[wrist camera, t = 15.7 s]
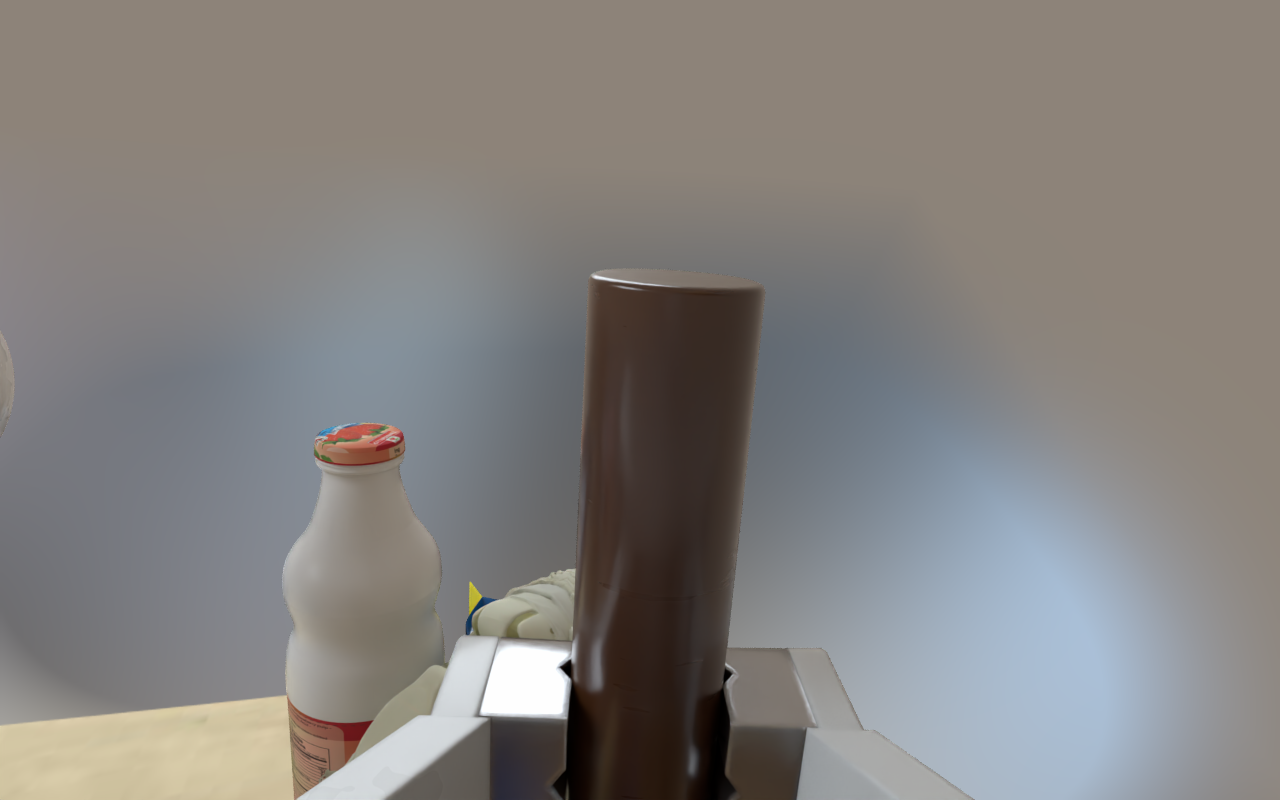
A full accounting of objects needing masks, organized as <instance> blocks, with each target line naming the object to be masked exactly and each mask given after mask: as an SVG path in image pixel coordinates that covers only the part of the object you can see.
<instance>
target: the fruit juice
mask: <svg viewBox="0 0 1280 800" xmlns="http://www.w3.org/2000/svg"><path fill="white" fill-rule="evenodd" d="M404 451H405V442H404V436H403V433H402V432H401V431H400V430H399V429H398V428H396V427H393V426H390V425H385V424H377V423H354V424H345V425H339V426H335V427H331V428H328V429H325V430H323V431H321V432H320V433H319V434H318V435H317V436H316V438H315V445H314V455H315V458H316V464H317V466H318V467H319V468H321V471H322V478H321V486H320V491H319V495H318V499H317V503H316V507H315V510H314V513H313V516H312V519H311V521H310V524H309V526H308V528H307V529H306V531H305V532H304V533H303V534H302V535H301V537H300V538H299V539H298V540H297V541H296V543H295V544H294V546H293V547H292V549H291V550H290V552H289V554H288V556H287V558H286V561H285V564H284V569H283V586H282V587H283V588H282V590H283V596H284V600H285V603H286V606H287V609H288V611H289V613H290V616H291V618H292V620H293V623H294V628H293V631H292V633H291V635H290V638H289V641H288V645H287V651H286V689H287V699H288V713H289V728H290V743H291V757H292V772H293V786H294V800H296V799H297V798H299V797H300V796H302V795H303V794H304V793H306V792H307V791H309V790H310V789H312V788H313V787H315V786H316V785H318V784H319V779H320V778H321V777H322V776H323V775H324V774H325V771H326V770H328V769H329V771H338V770H339V769H341V768H342V767H344V765H345V764H346V763H347V762H348V760H349V759H350V758H351V756H352V754H354V753H355V751H356V749H357V747H358V745H359V743H360V741H361V739H362V737H363V736H364V734H365V732H366V731H367V729H368V728H369V726H370V725H371V723H372V722H373V721H374V719H375V718H376V716H377V715H378V714H379V712H380V711H381V710H382V709H383V708H384V706H385V705H386V704H387V703H388V702H389V701H390V700H391V699H392V698H394V697H395V696H396V695H397V694H399V693H400V692H401V691H403V690H404V689H405V688H407V687H408V686H410V685H411V684H412V683H414V682H415V681H416V680H417V679H418V678H419V677H420V676H421V675H422V674H423V673H424V672H425V671H426V670H427V669H428V668H429V667H431V666H433V665H439V666H442V665H443V664H445V652H444V651H445V650H444V638H443V630H442V625H441V622H440V619H439V616H438V615H437V613H436V611H435V608H434V605H435V601H436V598H437V594H438V591H439V588H440V583H441V577H442V565H441V556H440V551H439V548H438V546H437V543H436V541H435V540H434V538H433V537H432V535H431V534H430V533H429V531H428V530H427V529H426V528H425V527H424V526H423V524H422V523H421V522H420V521H419V519H418V518H417V516H416V515H415V513H414V511H413V509H412V507H411V505H410V502H409V500H408V497H407V495H406V492H405V489H404V486H403V484H402V479H401V476H400V471H399V470H400V469H399V465H400V464H401V463H402V461H403V459H404ZM325 778H326V776H323V779H325ZM321 782H322V779H321Z"/></svg>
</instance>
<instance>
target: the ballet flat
mask: <svg viewBox="0 0 1280 800" xmlns="http://www.w3.org/2000/svg"><path fill="white" fill-rule="evenodd" d="M575 570H576V569H572V570H571V569H567V570H566V571H564V572H562V571H560V570H558V572H556V573H554V572H552V573H551V574H550V576H549V577H547V578H540V579H538V580H536V581H532V582H531V583H530V584H527V585H523V586H521V587H519V588H513V589H511V590H510V591H509V592H508V593H507V594H506V596H505V598H504V599H501V600H496V601H493V602H491V603H489V604H488V605H485V606H483V607H482V608H480V609H479V610H477V611H476V612H475V613H474V614H473V617H472V627H473V630H474V631H473V632H471V634H470V635H475V636H498V637H499V638H501V637H516V638H533V639H549V640H566V641H572V637H573V614H574V592H575ZM449 662H450V661H449ZM449 662H448V663H445V664H443V665H442V666H439V665H433V666H431V667H429V668H428V669H427V670H426V671H425V672H424V673H423V674H422V675H421V676H420V677H419V678H418V679H417V680H416V681H415V682H414V683H412V684H411V685H410V686H408V687H407V688H405V689H404V690H403V691H401V692H400V693H399V694H397V695H396V696H395V697H394V698H392V699H391V700H390V701H389V702H388V703H387V704H386V705H385V706H384V708H383V709H382V710H381V711H380V712H379V714H378V715H377V716H376V718H375V719H374V721H373V722H372V723H371V725H370V726H369V728H368V729H367V731H366V732H365V734H364V736H363V737H362V739H361V741H360V743H359V745H358V747H357V749H356V751H355V753H354V754H352V756H351V758H350V759H349V760H348V762H347V763H346V764H345V765H347V764H348V763H350V762H351V761H352V760H354V759H355V758H357V757H358V756H360V755H361V754H363V753H364V752H366V751H367V750H368V749H370V748H371V747H373V746H374V745H376V744H377V743H379V742H380V741H382V740H383V739H385V738H386V737H387V736H389V735H390V734H392V733H393V732H395V731H396V730H398V729H399V728H401V727H402V726H403V725H405V724H406V723H408V722H409V721H411V720H412V719H414V718H415V717H417V716H418V715H430V714H431V711H432V709H433V706H434V703H435V700H436V698H437V695H438V692H439V689H440V687H441V684H442V681H443V679H444V676H445V673H446V670H447V668H448V665H449ZM345 765H344V766H345ZM335 772H336V771H329V769H328V770H326V771H325V774H324V775H323V776H326V778H328V777H329V776H331V775H332V774H334V773H335ZM323 776H322V777H321V778H320V779H319V783H320V782H321V779H322V781H323V780H325V779H326V778H325V779H323Z"/></svg>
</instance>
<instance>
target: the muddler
mask: <svg viewBox="0 0 1280 800" xmlns="http://www.w3.org/2000/svg"><path fill="white" fill-rule="evenodd" d="M764 301H765V289H764V286H763V285H761V284H759V283H757V282H755V281H752V280H749V279H744V278H739V277H733V276H727V275H719V274H710V273H701V272H691V271H677V270H660V269H608V270H601V271H598V272H595V273H592V274H591V276H590V278H589V280H588V301H587V324H586V347H585V368H584V391H583V413H582V436H581V458H580V480H579V503H578V526H577V527H578V528H577V548H576V570H575V592H574V614H573V637H572V659H571V680H572V682H571V709H570V731H569V741H568V751H567V758H568V776H567V794H566V800H711V791H712V781H713V772H714V765H715V756H716V747H717V738H718V736H717V734H718V725H719V716H720V707H721V698H722V689H723V682H724V673H725V663H726V654H727V643H728V635H729V626H730V615H731V607H732V598H733V588H734V580H735V570H736V561H737V552H738V541H739V533H740V523H741V514H742V505H743V496H744V487H745V476H746V468H747V458H748V449H749V439H750V431H751V421H752V412H753V402H754V393H755V384H756V374H757V365H758V356H759V347H760V338H761V329H762V319H763V310H764Z"/></svg>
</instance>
